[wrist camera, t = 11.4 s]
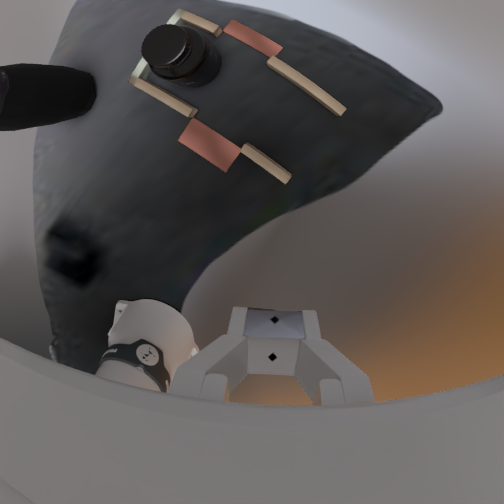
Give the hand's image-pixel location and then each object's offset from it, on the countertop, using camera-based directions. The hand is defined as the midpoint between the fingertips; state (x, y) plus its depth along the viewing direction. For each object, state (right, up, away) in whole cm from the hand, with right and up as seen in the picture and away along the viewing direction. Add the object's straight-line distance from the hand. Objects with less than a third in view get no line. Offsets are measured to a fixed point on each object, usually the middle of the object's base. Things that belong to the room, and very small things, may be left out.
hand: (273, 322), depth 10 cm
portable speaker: (-28, +28, +22) cm, 45 cm away
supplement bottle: (-8, +27, +20) cm, 35 cm away
